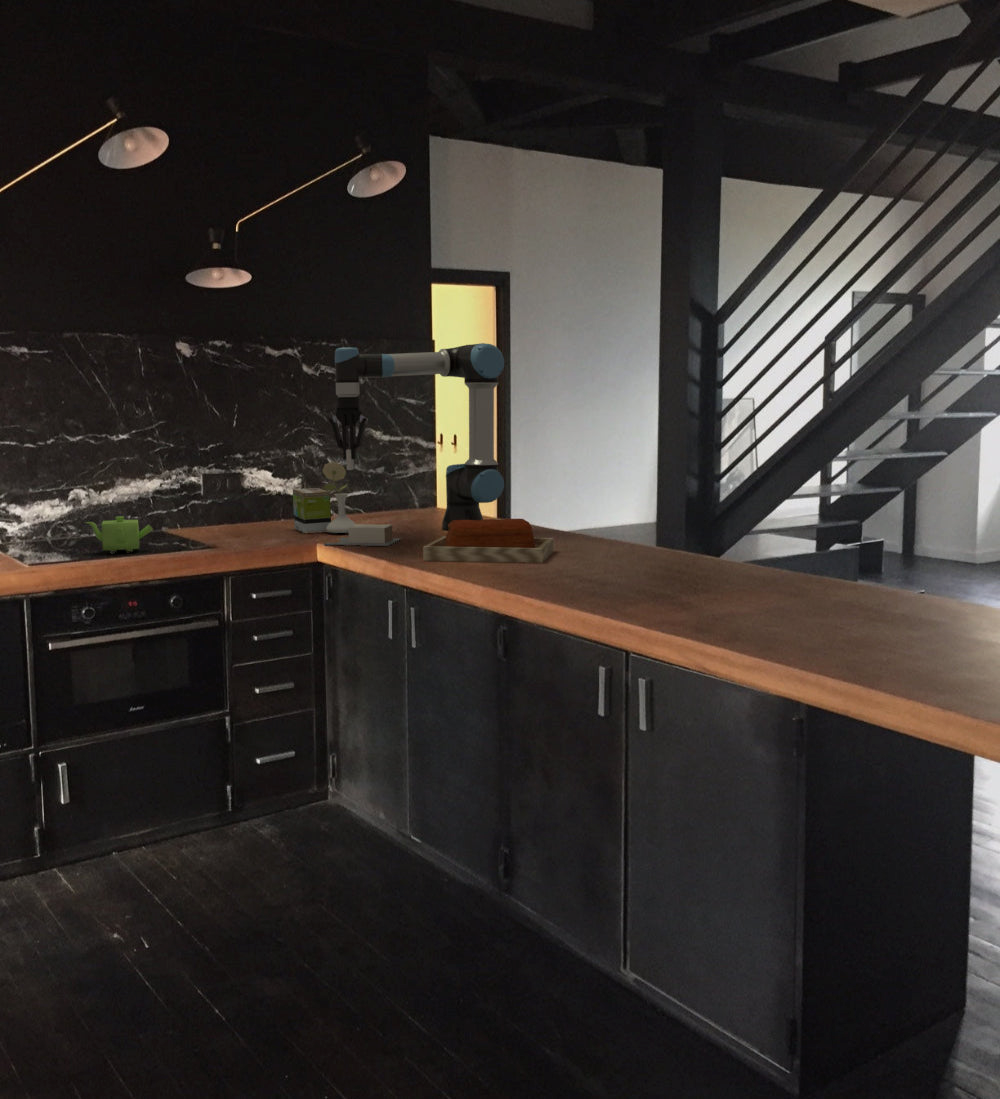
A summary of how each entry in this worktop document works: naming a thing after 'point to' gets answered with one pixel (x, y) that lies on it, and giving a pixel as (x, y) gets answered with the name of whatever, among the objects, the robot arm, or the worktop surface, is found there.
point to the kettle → (120, 534)
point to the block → (370, 533)
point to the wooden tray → (488, 552)
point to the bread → (490, 533)
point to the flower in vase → (341, 521)
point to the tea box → (311, 509)
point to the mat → (346, 542)
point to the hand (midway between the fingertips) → (350, 469)
